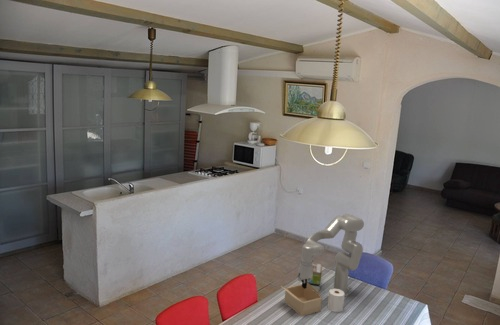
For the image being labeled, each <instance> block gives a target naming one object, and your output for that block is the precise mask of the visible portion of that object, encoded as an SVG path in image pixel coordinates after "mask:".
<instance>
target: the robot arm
mask: <svg viewBox="0 0 500 325" xmlns="http://www.w3.org/2000/svg"><path fill="white" fill-rule="evenodd" d="M364 226H365V222H364V220H363V219H362V218H360V217H357V216H354V215H353V214H350V213H344V214H343V215H342V216H341V215H336V216H335V217H333V219H331V221H330V222H329V223H328V224H327V226H326V227H325V228H324V229H321V230H319V231H316V232H314V233H312V234H311V235H310V237H308V239H306V242H305V243H304V244H303V245H302V247H301V258H300V263H299V265H298V269H297V275H296V276H297V278H298V279H297V280H298V282H301V284H302V287H303V288H304V289H305V288H307V283H308V281H309V279H311V278H312V276H313V265H312V263H314V259H313V256H314V257H315V256H322V255H323V254H324V253H325V250H326V249H325V247H324V245H322V244H320V243H319V242H318V241H320V240H325V239H334V238H335V237H336V235H338V233H339V232H340V231H341V230H343V231H344V234H343V239H342V241H341V244H340V245H341V250H343V251H339V252H337V253H336V255H335V256H334V260H335V272H334V279H333V280H334V281H333V287H332V288H331V289H334V288H335V289H340V290H342V291H343V292H344V293H345V295H344V298H346V297H348V296H349V291H348V290H352V286H348V280H349V272H350V271H356V270H357V269H358V267H359V265H360V261H361V258H362V255H363V252H364V251H363V250H364V247H363V245H362V243H360V242H358V241H356V240H357V239H356V238H357V237H358V236H357V235H358V232H359V231H361V230H362V229H363V228H364Z"/></svg>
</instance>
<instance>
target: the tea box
mask: <svg viewBox="0 0 500 325" xmlns="http://www.w3.org/2000/svg"><path fill="white" fill-rule="evenodd" d="M312 265H313V276H312V278H311V279H309V281H308V283H309V284H310V285H311V286H313V287H314V288H315V289H317V290H318V291H320V289H321V282H322V274H323V273H322V272H323V264H320V263H315V262H312ZM307 287H308V286H307ZM310 289H311V288H310ZM311 290H312V289H311Z"/></svg>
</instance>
